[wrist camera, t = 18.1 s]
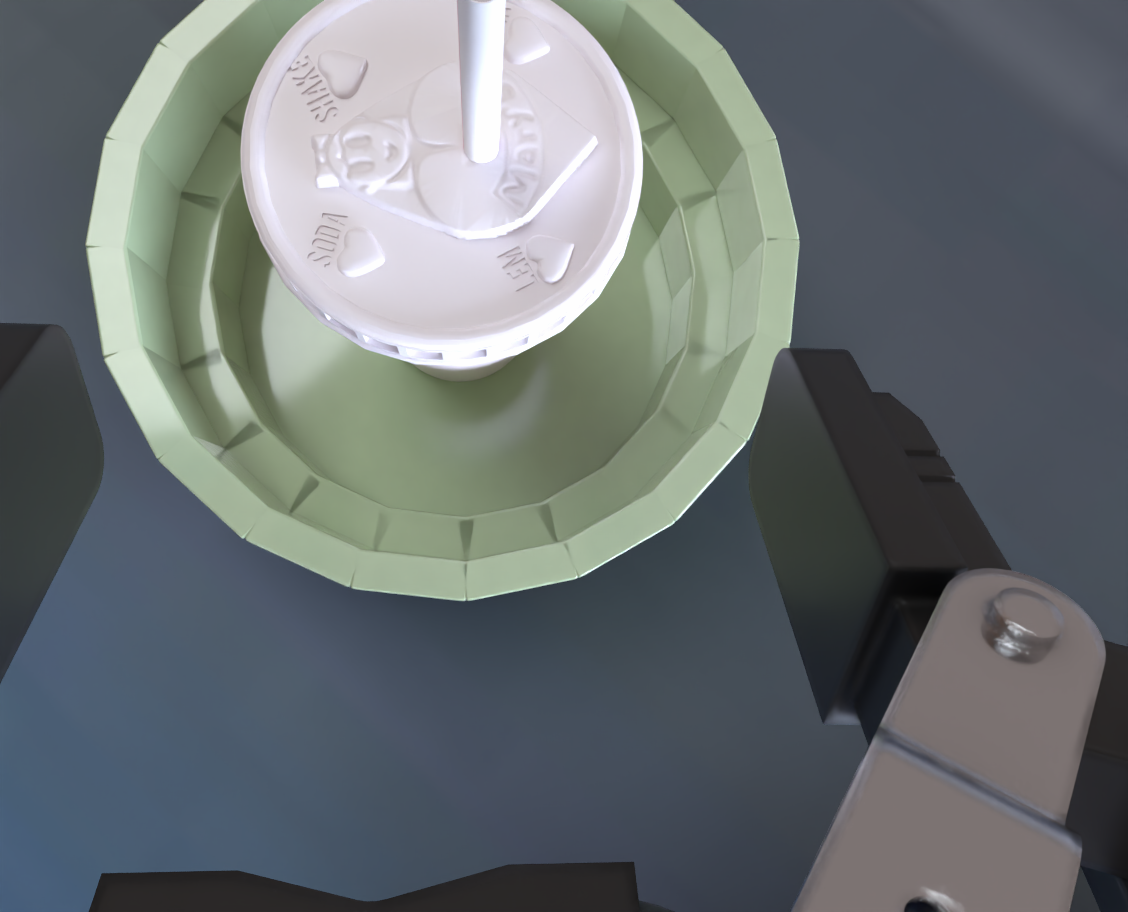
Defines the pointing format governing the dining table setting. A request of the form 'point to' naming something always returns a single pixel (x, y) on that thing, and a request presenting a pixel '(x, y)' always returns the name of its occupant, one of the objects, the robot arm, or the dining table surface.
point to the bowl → (408, 395)
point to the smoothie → (442, 174)
